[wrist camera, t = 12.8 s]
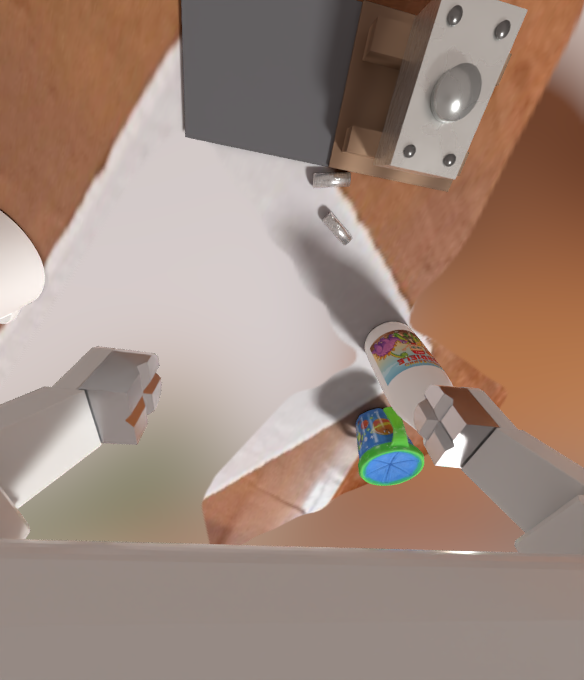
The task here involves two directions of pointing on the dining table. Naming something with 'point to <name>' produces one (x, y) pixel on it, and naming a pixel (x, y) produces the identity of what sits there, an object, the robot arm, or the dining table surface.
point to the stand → (376, 95)
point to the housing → (446, 84)
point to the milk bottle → (403, 367)
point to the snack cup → (386, 448)
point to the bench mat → (267, 73)
